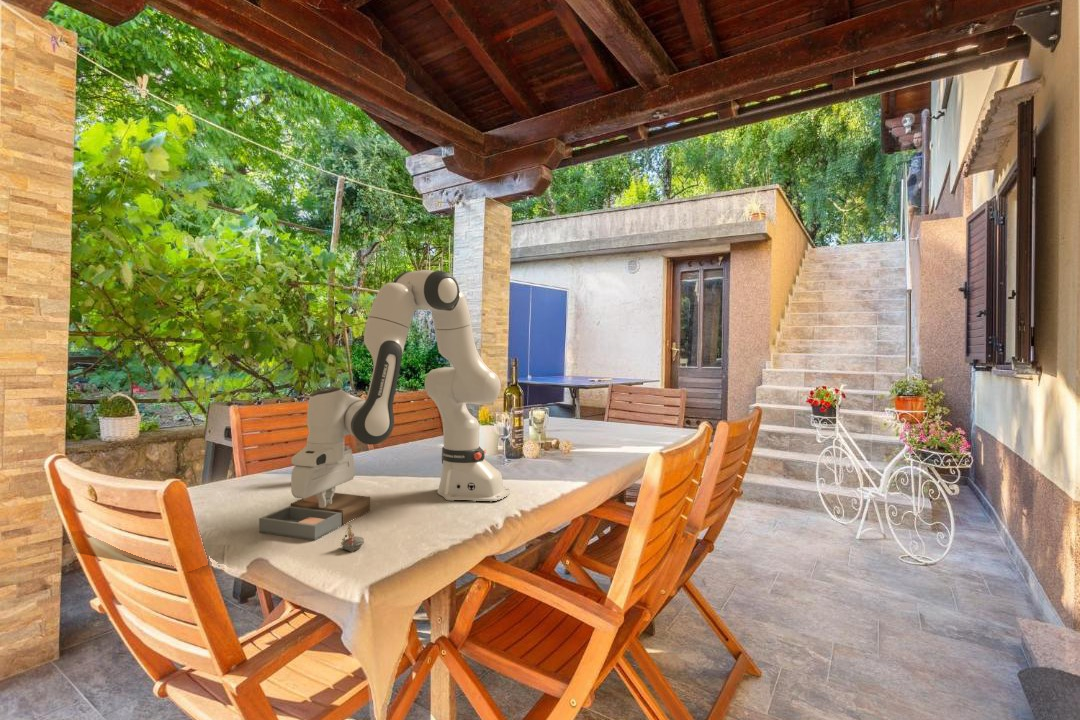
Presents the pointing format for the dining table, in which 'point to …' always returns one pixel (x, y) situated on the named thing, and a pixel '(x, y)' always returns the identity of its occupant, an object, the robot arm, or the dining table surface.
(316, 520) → the tile
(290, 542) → the dining table surface
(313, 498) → the tile
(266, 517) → the box
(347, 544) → the figurine
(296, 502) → the brown wooden platform
